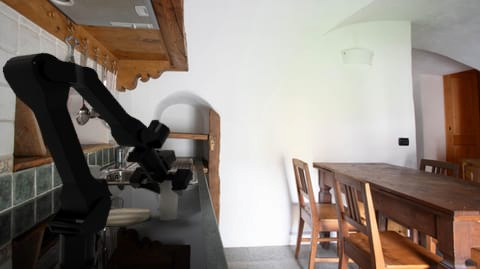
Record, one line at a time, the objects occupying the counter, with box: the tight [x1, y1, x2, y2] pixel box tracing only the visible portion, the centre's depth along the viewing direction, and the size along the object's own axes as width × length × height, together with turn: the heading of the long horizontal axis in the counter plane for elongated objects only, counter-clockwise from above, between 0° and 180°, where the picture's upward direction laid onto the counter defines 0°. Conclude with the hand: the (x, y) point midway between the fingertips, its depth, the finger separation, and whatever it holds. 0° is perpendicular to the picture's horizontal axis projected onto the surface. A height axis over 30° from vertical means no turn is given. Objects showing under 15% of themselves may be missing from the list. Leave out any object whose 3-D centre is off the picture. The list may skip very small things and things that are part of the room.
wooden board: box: [106, 207, 152, 227], centre depth 78 cm, size 16×16×1 cm
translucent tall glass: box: [159, 180, 179, 221], centre depth 79 cm, size 5×5×14 cm
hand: (171, 194), depth 80 cm, fingers open, 7 cm apart
